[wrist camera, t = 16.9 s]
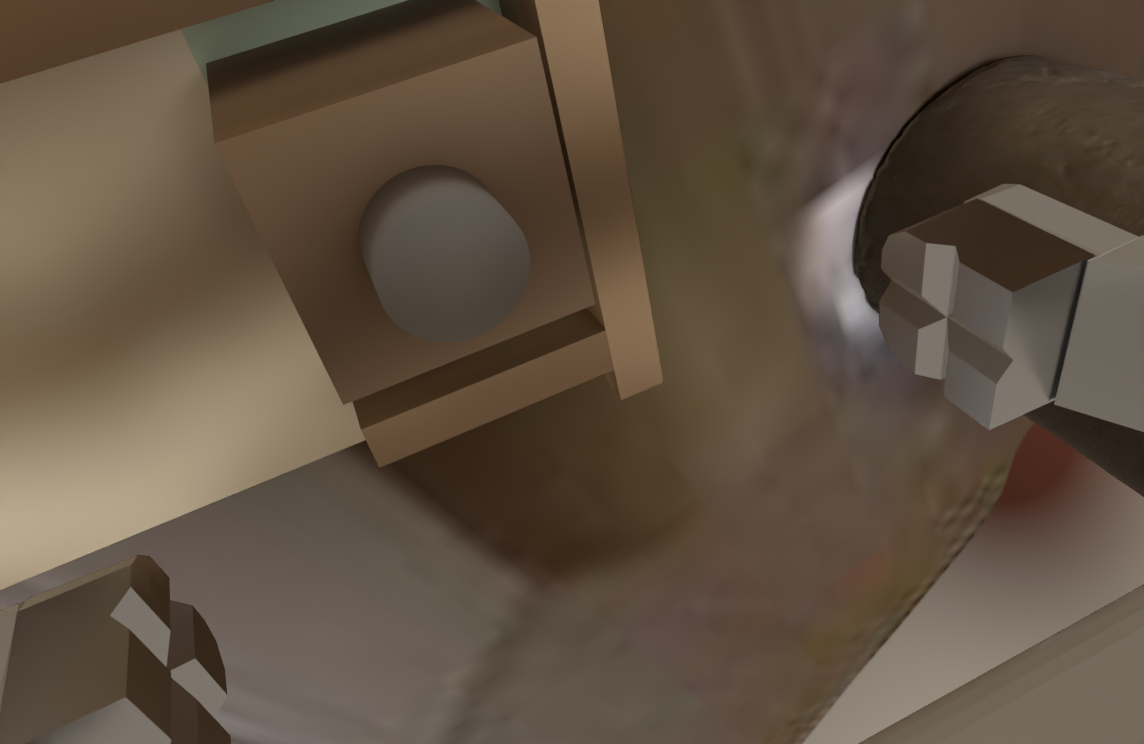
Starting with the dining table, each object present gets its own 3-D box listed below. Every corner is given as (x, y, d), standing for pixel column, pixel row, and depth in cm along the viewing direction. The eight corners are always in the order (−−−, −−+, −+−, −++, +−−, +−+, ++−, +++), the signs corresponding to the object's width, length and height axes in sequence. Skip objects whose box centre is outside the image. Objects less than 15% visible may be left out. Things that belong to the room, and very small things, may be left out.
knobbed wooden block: (205, 63, 16) (218, 179, 11) (453, -14, 16) (572, 59, 11) (309, 283, 19) (356, 454, 14) (513, 208, 20) (628, 342, 14)
